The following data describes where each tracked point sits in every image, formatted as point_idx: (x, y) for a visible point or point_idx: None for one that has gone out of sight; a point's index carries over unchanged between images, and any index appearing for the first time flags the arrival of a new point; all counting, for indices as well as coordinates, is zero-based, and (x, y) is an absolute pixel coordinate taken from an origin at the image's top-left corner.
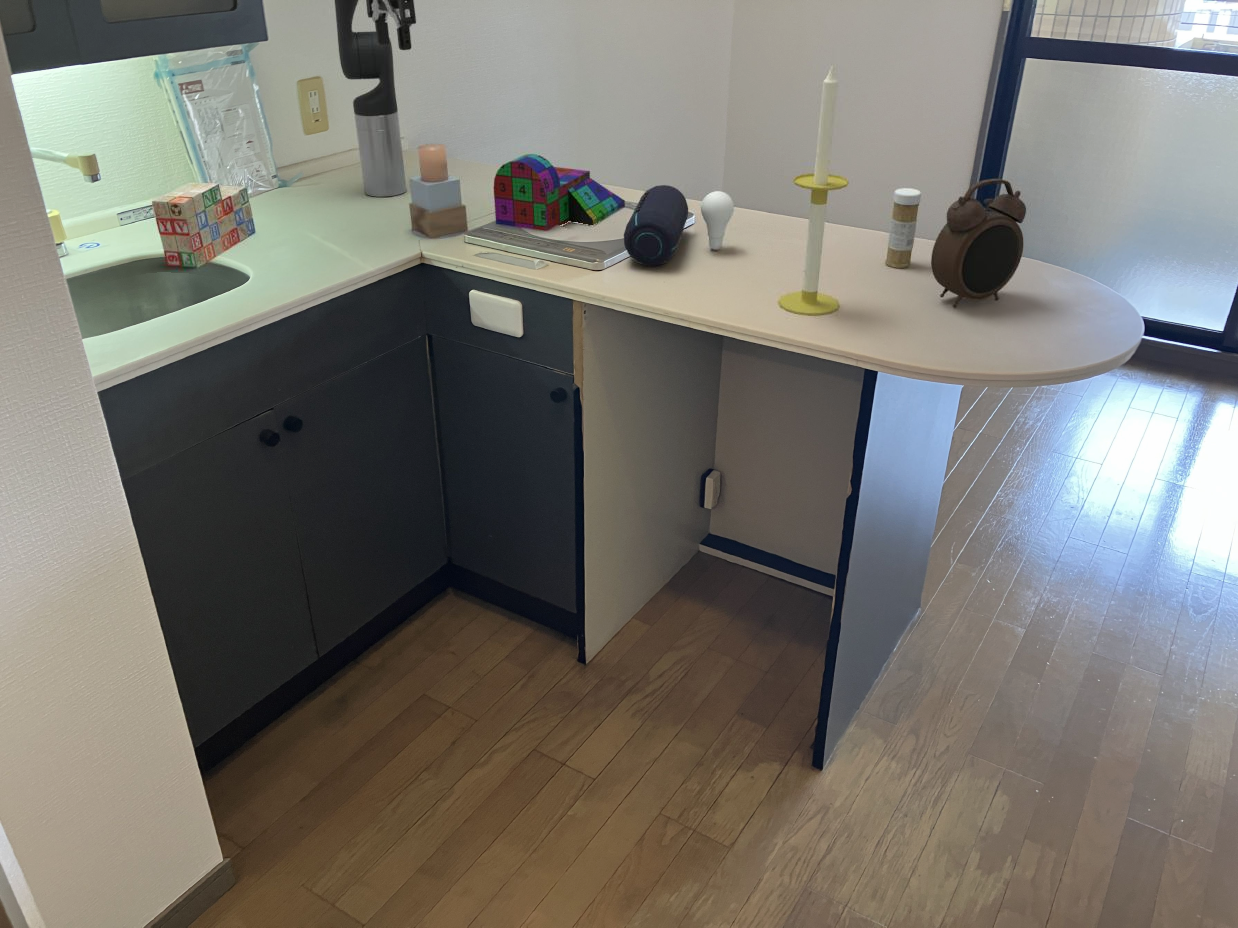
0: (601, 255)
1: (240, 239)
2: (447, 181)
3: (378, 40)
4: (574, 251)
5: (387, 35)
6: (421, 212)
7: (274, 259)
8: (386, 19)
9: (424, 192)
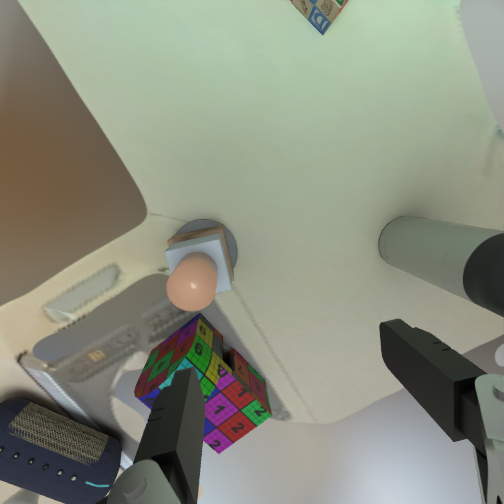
0: (66, 376)
1: (293, 2)
2: None
3: (393, 328)
4: (89, 358)
5: (406, 382)
6: (190, 235)
7: (196, 30)
8: (478, 458)
9: (177, 246)
